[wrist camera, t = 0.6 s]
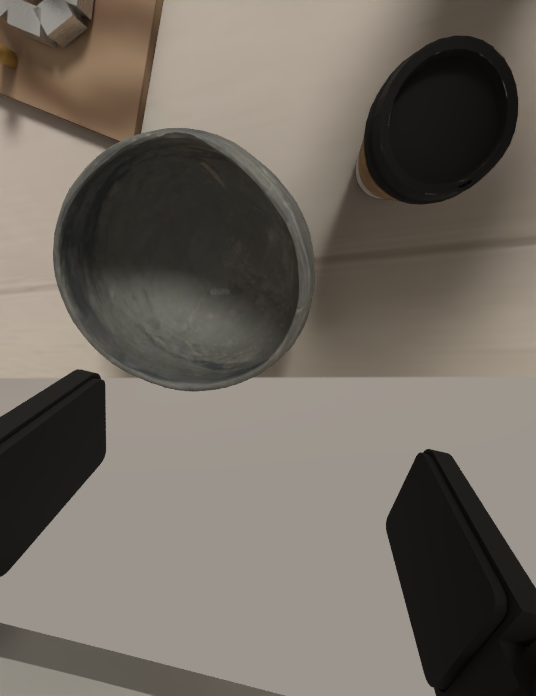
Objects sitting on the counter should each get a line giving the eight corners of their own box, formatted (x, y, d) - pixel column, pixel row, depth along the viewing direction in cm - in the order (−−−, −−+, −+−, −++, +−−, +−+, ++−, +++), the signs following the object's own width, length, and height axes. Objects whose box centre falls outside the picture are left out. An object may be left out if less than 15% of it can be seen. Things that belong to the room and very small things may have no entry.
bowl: (331, 320, 38) (347, 375, 24) (177, 362, 42) (115, 429, 28) (281, 126, 31) (261, 47, 17) (104, 200, 36) (-24, 184, 22)
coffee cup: (359, 226, 34) (397, 226, 20) (330, 144, 31) (350, 79, 17) (440, 188, 32) (546, 158, 18) (415, 97, 29) (515, -20, 15)
